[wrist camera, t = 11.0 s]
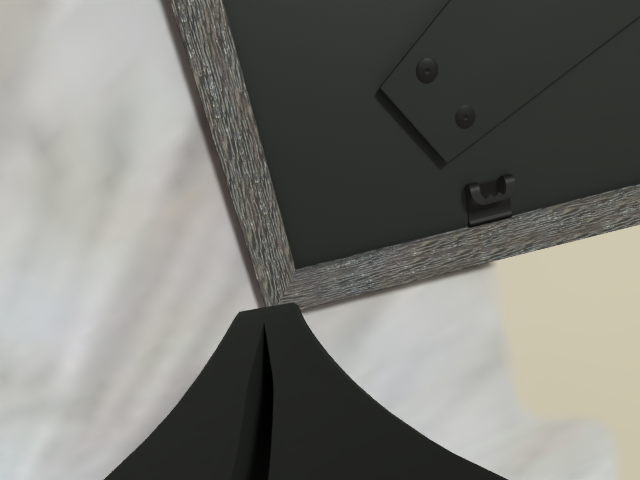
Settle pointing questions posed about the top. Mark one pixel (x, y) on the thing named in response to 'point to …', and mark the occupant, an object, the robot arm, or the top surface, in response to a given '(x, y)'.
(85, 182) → the top surface
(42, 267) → the top surface
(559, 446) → the top surface
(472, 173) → the picture frame
